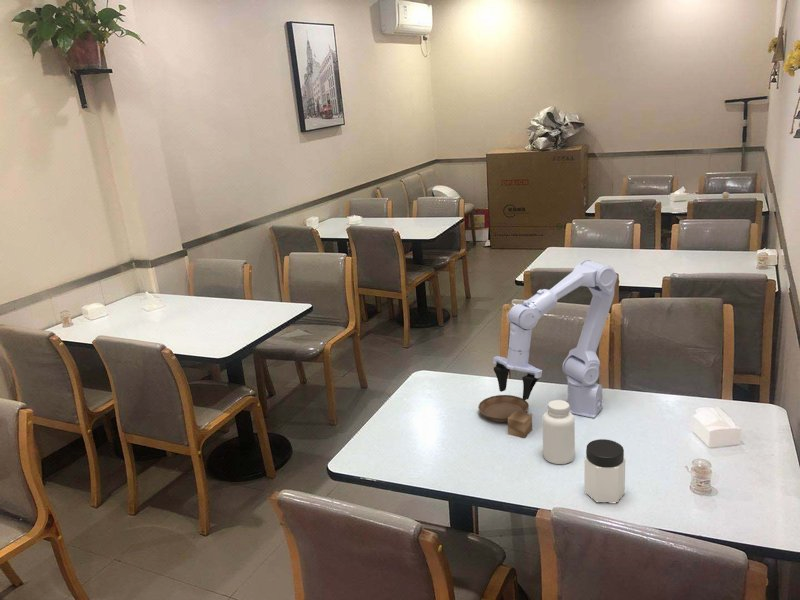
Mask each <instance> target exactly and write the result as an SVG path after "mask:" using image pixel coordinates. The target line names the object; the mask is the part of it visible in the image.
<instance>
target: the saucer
mask: <svg viewBox="0 0 800 600" xmlns="http://www.w3.org/2000/svg"><path fill="white" fill-rule="evenodd" d="M529 409H530V405H529V402H528V401H527V400H523V397H522V398H521V397H519V396H516V395H511V394H498V395H492V396H488V397H487V398H484V399H483V400H481V401H480V402H479V404H478V410H479V412H480V413H481V414H482V415H483V417H485V418H486V419H488V420H490V421H493V422H496V423H497V422H498V423H508V418H509V417H510V416H511V415H512V414H513V413H514V412H515V411H518V412H523V413H527V412H528V410H529Z"/></svg>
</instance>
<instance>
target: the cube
mask: <svg viewBox="0 0 800 600" xmlns="http://www.w3.org/2000/svg"><path fill="white" fill-rule="evenodd" d="M532 431H533V414H530V413H527V412H526V413H523V412H518V411H515V412H514V413H513V414H512V415H511V416H510V417H509V418H508V422H507V434H508V435H509V436H514V437H518V438H522V439H526V438H527V437H528V436H529V434H530V433H531V432H532Z"/></svg>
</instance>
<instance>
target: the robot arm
mask: <svg viewBox="0 0 800 600" xmlns="http://www.w3.org/2000/svg"><path fill="white" fill-rule="evenodd" d="M617 280H618V274H617V272H616V271H615V269H614V268H613V267H612V266H610V265H606V264H601V263H600V262H599V263H598V262H595V261H592V260H590V259H584V260H582V261H581V262H579V263H578V264H576V265H575V266H574V268H573V270H572V272H570V273H569V274H567V275H566V276H565V277H564V278H563V279H561V280H560V281H559V282H558V283H556V284H555V285H554V286H553V287H551V288H550V289H547V288H543V289H539V290H537V292H536V293H535V294H534V295H533V296H531V297H530V298H528V299H525V300H523V303H517V304H515V305H513V306H511V308H510V309H509V312H507V314H506V315H507V320H508V322H509V328H510V330H509V341H508V347H507V348H508V349H507V357H503V356H499V355H497V356H494V357H493V359H492V360H493V361H492V364H493V365H495V366H493V372H494V374H495V376H496V378H497V383H498V389H499V392H501V393H502V392H504V391H506V389H507V385H508V377H509V373H510V370H511V371H513V370H514V371H517V372H520V373H523V374H526V375H524V376H522V384H523V385H522V386H523V387H522V388H523V389H522V399H523V400H525V401H527V400H529V398H530V395H531V394H532V391H533V389H534V386H535V385H536V384H537V382H538V381H539V380H540V378H542V374H543V369H540V368H537V367H535V366H533V365H532V364H530V363H529V360H530V359H529V358H530V350H531V349H530V348H531V340H532V333H533V328H535V327H536V326H537V324H538V321H539V320H541V317H542V316H544V315H545V314H547V313H548V312H550V311H552V309H554V308H555V307H556V306H557V302H558V300H560V299H561V298H564V297H565V296H566V295H568V294H569V293H571V292H573V291H575V290H576V289H578V288H579V287H587V289H589V291H590V293H591V295H592V297H591V300H590V304H589V307H588V311H587V314H586V317H585V319H584V322H583V326H582V328H581V333H580V336H579V339H578V342H577V345H576V347H575V348H572V349H570V350H569V352H568V354H567V357H566V358H564V361H563V362H562V369H561V371H562V372H563V373H564V375H566V380H567V403H568V404H569V405H570V410H569V412H570V413H571V414H572V415H578V416H582V417H588V418H592V419H595V418H596V417H597V415H598V414H599V413H600V412H601V411H602V410H603V407H604V405H603V385H602V384H601V383H600V384H599V383H597V381H598V379H599V376H600V365H601V361H600V359H599V356H598V355H597V350H598V347H599V344H600V342H601V337H602V334H603V333H604V332H603V331H604V328H605V325H606V322H607V318H608V316H609V313H610V310H611V307H612V304H613V301H614V297H615V287H616V284H617Z"/></svg>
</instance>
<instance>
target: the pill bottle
mask: <svg viewBox="0 0 800 600" xmlns="http://www.w3.org/2000/svg"><path fill="white" fill-rule="evenodd" d="M569 410H570V405H569V404H568V401H566V400H562V399H554V400H551V401H549V402H548V403H547V411H546V412H544V414H543V416H542V419H541V420H542V423H541V424H542V455H543V457H544V460H545V461H547V462H549V463H551V464H555V465H565V464H570V463H571V462H572V461H573V460H575V455H576V454H575V452H576V451H575V450H576V446H575V445H576V444H575V443H576V442H575V438H576V437H575V434H576V433H575V432H576V431H575V429H576V427H575V426H576V425H575V424H576V423H575V420H576V419H575V417H574V414H572V413H570V412H569Z"/></svg>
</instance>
